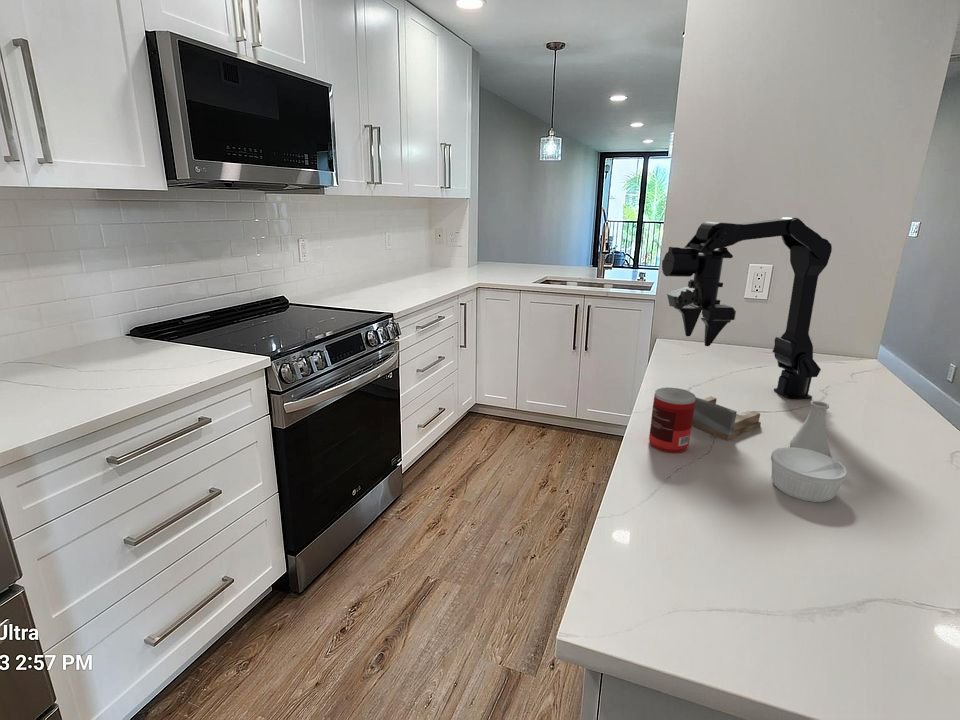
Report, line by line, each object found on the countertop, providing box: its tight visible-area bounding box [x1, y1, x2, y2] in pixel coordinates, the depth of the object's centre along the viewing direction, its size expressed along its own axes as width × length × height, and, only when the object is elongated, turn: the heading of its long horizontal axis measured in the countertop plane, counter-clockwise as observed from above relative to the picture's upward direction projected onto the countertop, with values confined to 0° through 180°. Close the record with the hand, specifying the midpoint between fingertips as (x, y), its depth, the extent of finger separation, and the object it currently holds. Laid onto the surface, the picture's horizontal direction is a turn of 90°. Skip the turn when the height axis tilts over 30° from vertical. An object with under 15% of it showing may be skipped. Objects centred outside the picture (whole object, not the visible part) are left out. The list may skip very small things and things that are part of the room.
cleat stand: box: [691, 396, 762, 441], centre depth 118 cm, size 13×13×6 cm
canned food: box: [648, 387, 696, 454], centre depth 106 cm, size 8×8×11 cm
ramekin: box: [770, 446, 848, 503], centre depth 92 cm, size 11×11×5 cm
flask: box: [789, 400, 831, 457], centre depth 106 cm, size 7×7×10 cm
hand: (697, 340), depth 130 cm, fingers open, 9 cm apart
